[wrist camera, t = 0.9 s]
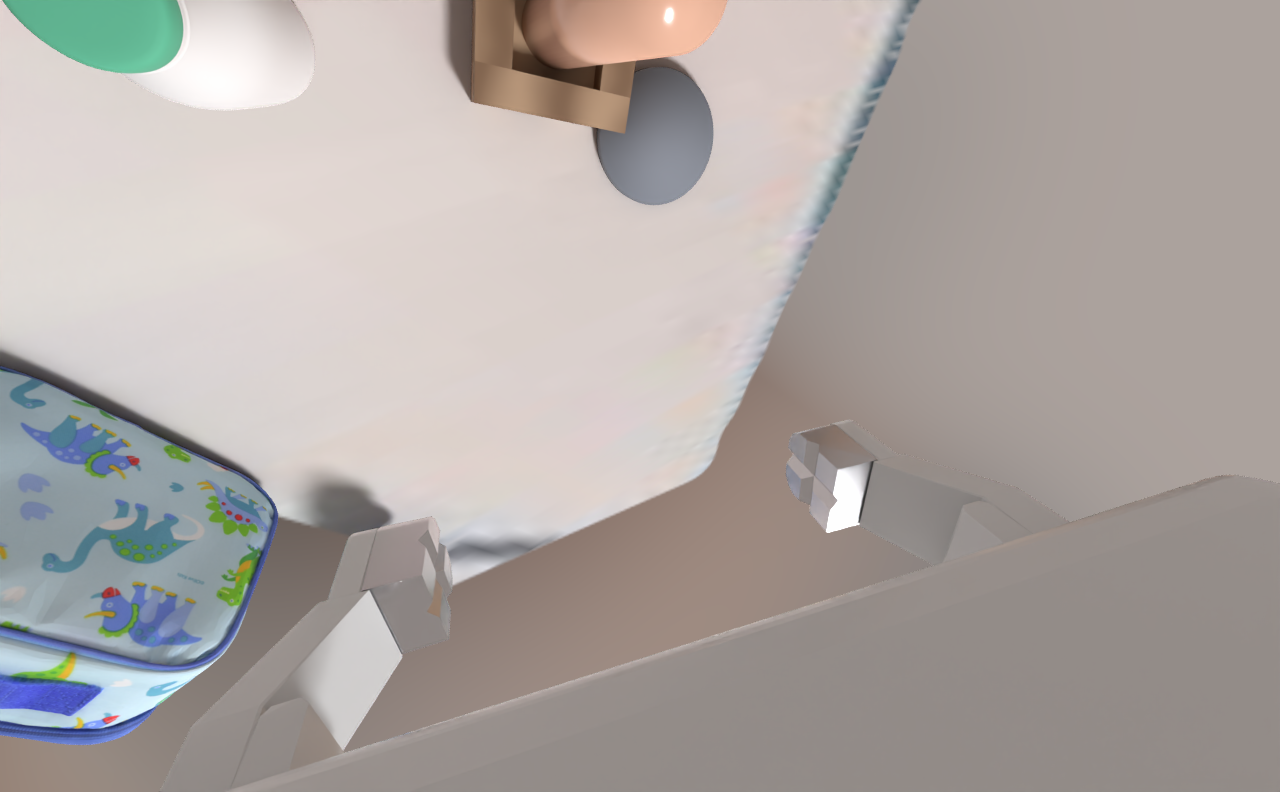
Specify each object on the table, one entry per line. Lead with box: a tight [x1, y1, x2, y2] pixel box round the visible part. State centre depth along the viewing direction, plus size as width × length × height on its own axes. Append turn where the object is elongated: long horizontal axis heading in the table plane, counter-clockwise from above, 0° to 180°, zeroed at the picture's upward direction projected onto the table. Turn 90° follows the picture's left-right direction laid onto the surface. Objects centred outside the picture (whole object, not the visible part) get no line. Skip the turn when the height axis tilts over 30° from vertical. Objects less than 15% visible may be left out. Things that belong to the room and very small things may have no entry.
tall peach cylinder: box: [522, 0, 727, 70], centre depth 28 cm, size 5×5×22 cm
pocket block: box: [471, 0, 636, 134], centre depth 36 cm, size 12×12×3 cm
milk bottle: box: [3, 0, 315, 110], centre depth 24 cm, size 8×8×20 cm
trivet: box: [597, 67, 713, 205], centre depth 44 cm, size 11×11×1 cm
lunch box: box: [0, 366, 278, 745], centre depth 34 cm, size 26×11×21 cm, turn 35°
